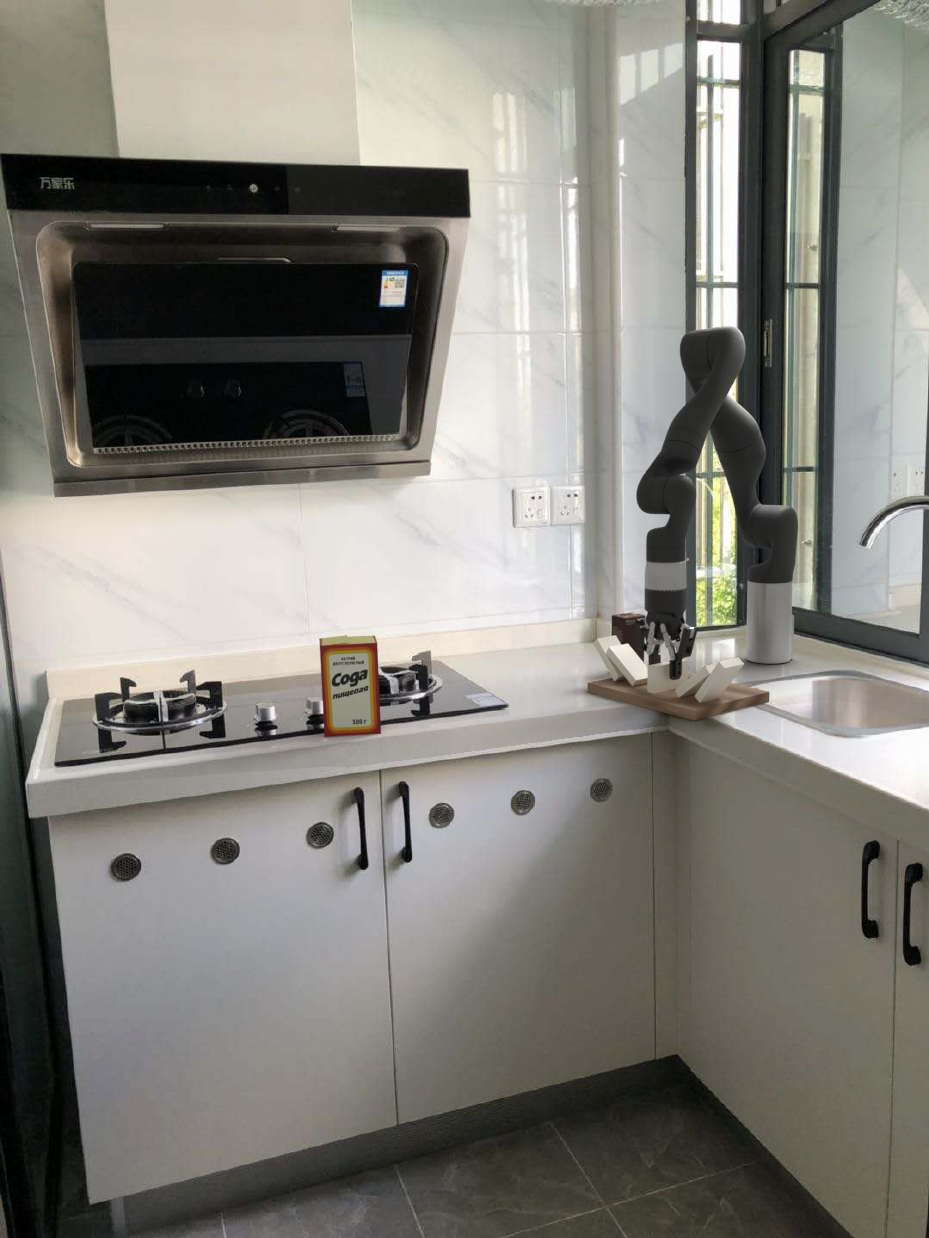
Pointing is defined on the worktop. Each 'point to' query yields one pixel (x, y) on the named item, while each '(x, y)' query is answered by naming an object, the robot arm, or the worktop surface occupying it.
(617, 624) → the box
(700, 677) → the domino
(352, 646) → the baking soda box
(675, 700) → the cutting board
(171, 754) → the worktop surface
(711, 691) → the domino
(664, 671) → the domino
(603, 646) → the domino
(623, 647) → the domino
